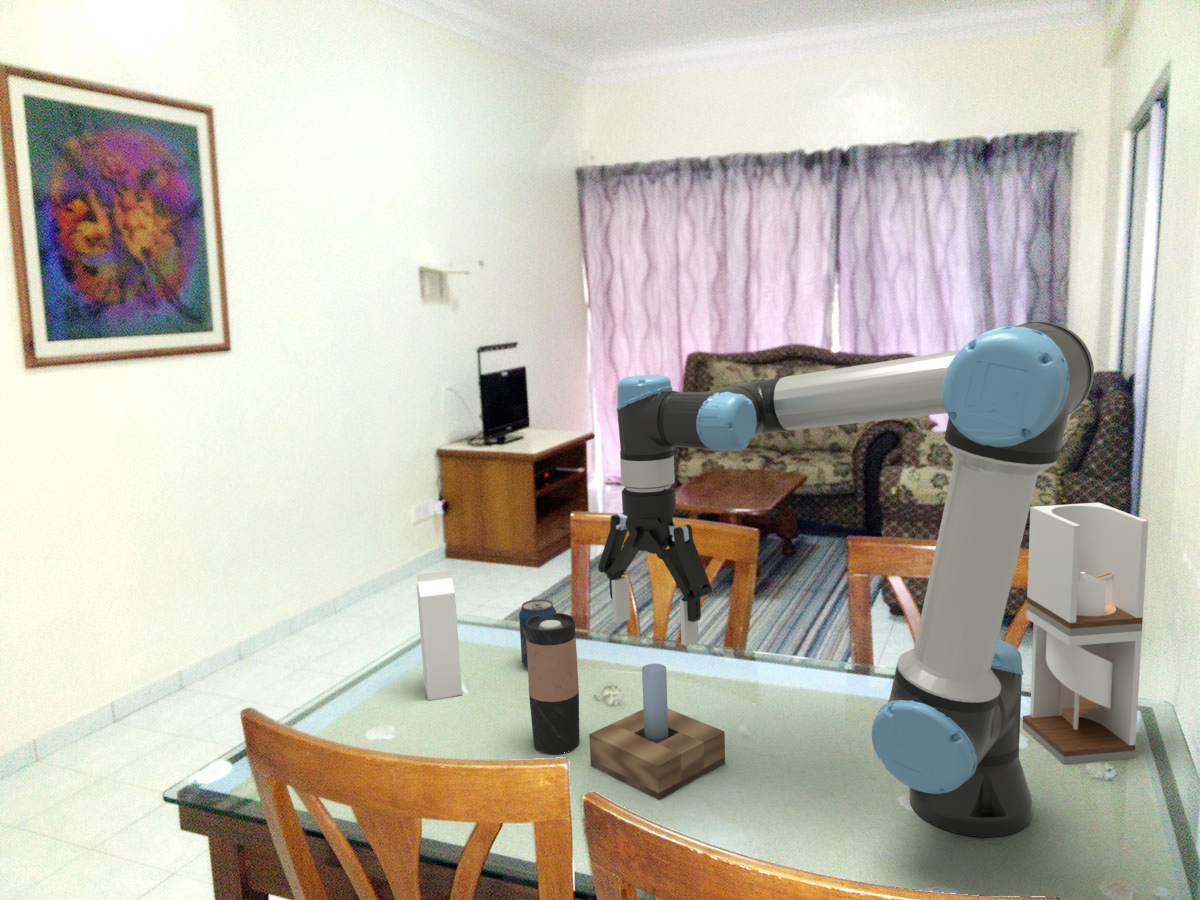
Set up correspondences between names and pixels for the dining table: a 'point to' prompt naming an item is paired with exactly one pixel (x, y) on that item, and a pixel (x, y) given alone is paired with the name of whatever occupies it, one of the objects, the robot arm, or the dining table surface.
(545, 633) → the travel mug
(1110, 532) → the spiral staircase model
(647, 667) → the pin
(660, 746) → the bore block
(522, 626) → the soda can
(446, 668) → the milk
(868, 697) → the dining table surface
